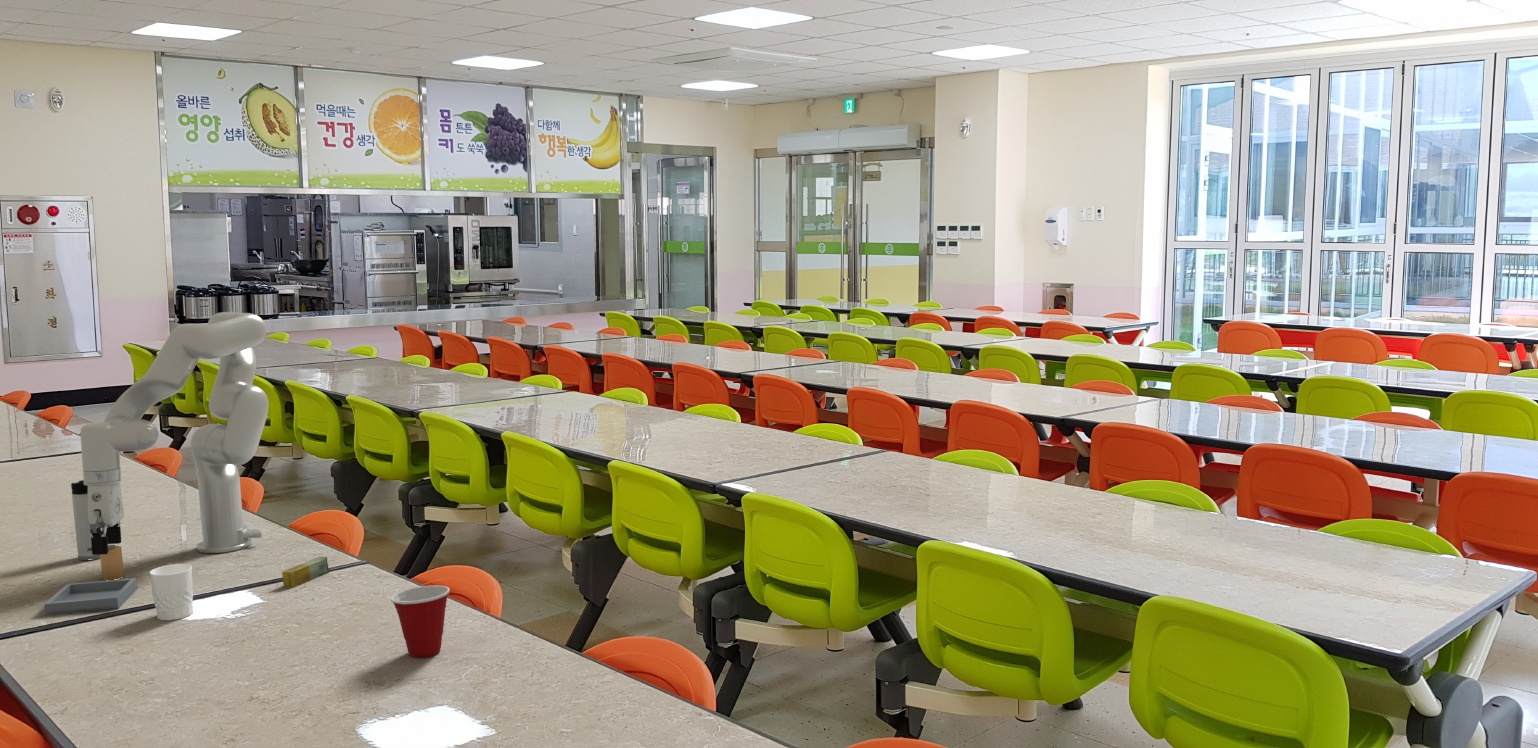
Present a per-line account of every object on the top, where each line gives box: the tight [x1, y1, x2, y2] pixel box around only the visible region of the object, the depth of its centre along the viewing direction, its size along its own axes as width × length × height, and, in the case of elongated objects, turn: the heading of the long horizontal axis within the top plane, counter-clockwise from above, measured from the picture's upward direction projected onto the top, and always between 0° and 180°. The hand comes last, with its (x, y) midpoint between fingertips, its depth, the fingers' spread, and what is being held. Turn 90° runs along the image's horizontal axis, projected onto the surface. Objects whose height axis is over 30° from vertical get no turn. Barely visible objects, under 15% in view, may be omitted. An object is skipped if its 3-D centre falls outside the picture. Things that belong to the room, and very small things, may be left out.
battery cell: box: [99, 544, 125, 581], centre depth 267 cm, size 4×4×8 cm
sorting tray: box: [43, 577, 138, 616], centre depth 250 cm, size 14×14×2 cm
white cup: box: [149, 563, 194, 621], centre depth 240 cm, size 8×8×10 cm
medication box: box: [281, 556, 330, 589], centre depth 263 cm, size 12×3×4 cm, turn 160°
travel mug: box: [70, 479, 102, 561], centre depth 283 cm, size 6×7×20 cm
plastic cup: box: [390, 585, 451, 659], centre depth 216 cm, size 11×11×12 cm
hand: (107, 548), depth 266 cm, fingers open, 9 cm apart
